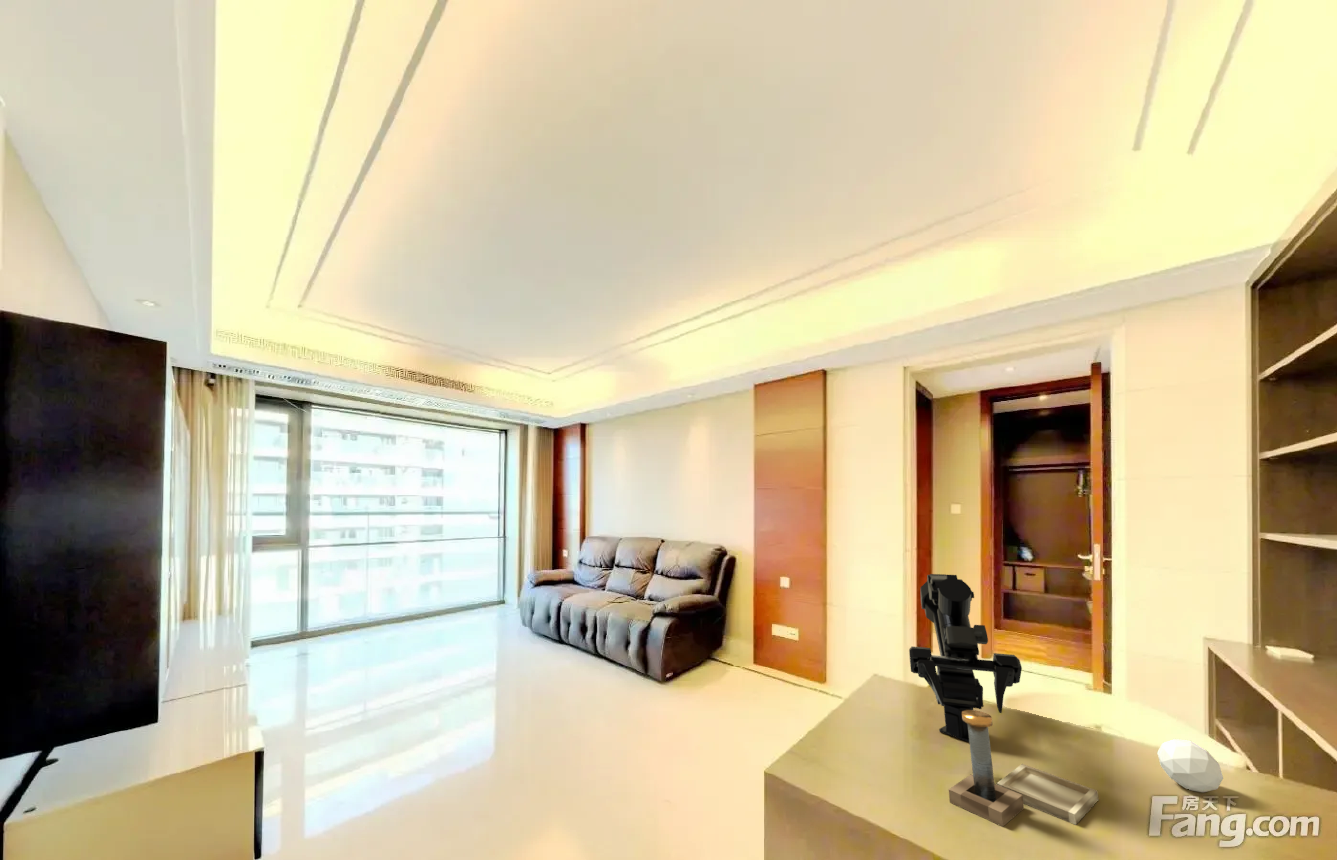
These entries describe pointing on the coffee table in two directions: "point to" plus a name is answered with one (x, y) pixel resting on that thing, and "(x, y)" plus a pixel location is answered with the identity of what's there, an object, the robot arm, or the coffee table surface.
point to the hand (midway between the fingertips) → (971, 708)
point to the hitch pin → (980, 753)
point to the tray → (1051, 793)
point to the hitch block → (987, 802)
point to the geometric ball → (1190, 765)
